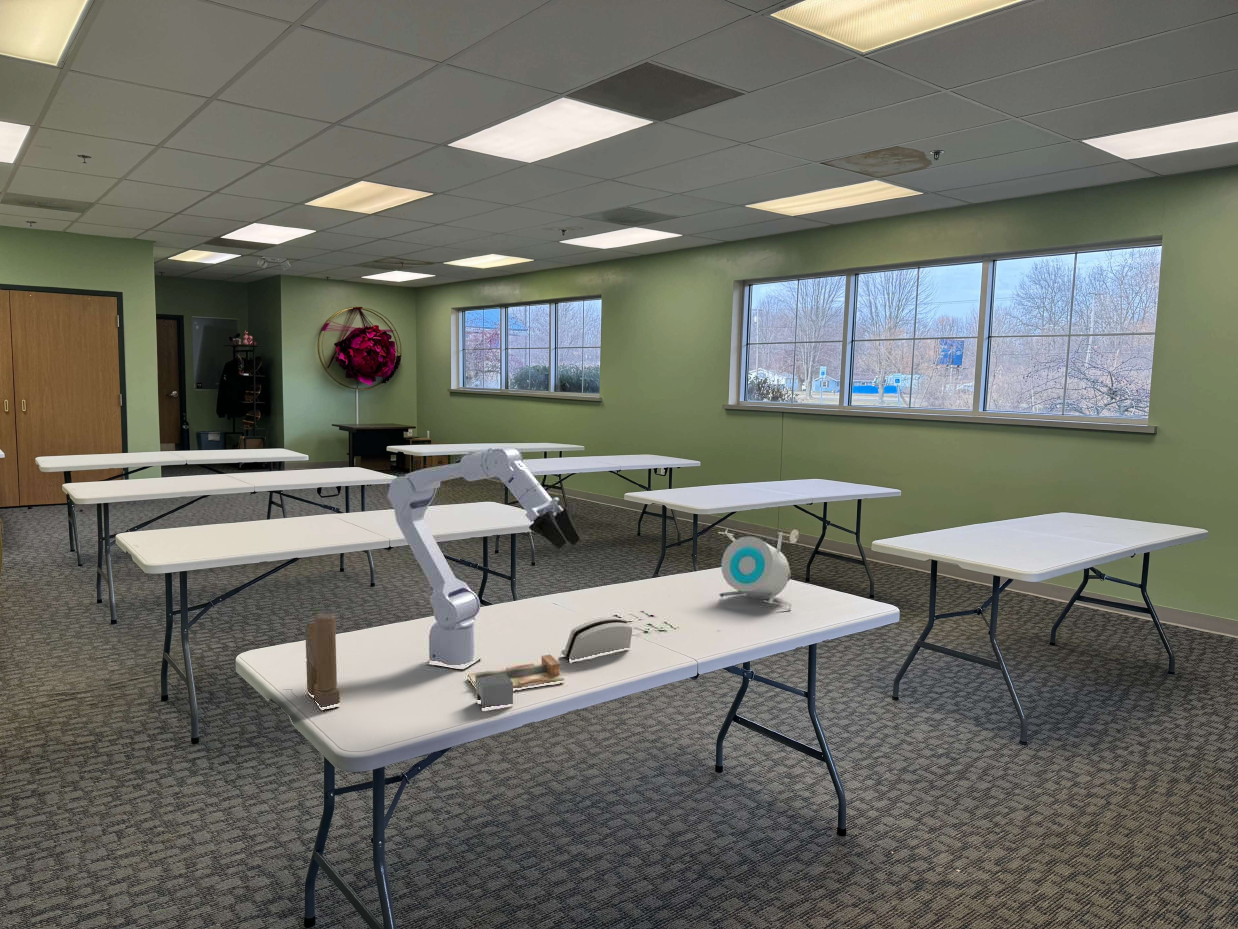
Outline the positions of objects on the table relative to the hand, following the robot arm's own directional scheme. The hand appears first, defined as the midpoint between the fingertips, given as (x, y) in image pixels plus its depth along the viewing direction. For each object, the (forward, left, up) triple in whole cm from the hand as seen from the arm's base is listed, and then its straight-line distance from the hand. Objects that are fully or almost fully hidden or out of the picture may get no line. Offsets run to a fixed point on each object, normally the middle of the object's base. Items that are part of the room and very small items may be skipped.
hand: (570, 543), depth 164 cm
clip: (-9, -15, -30) cm, 35 cm away
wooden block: (-41, -26, -30) cm, 57 cm away
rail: (-11, -3, -30) cm, 32 cm away
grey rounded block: (-1, +19, -30) cm, 36 cm away
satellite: (+23, +80, -30) cm, 88 cm away
